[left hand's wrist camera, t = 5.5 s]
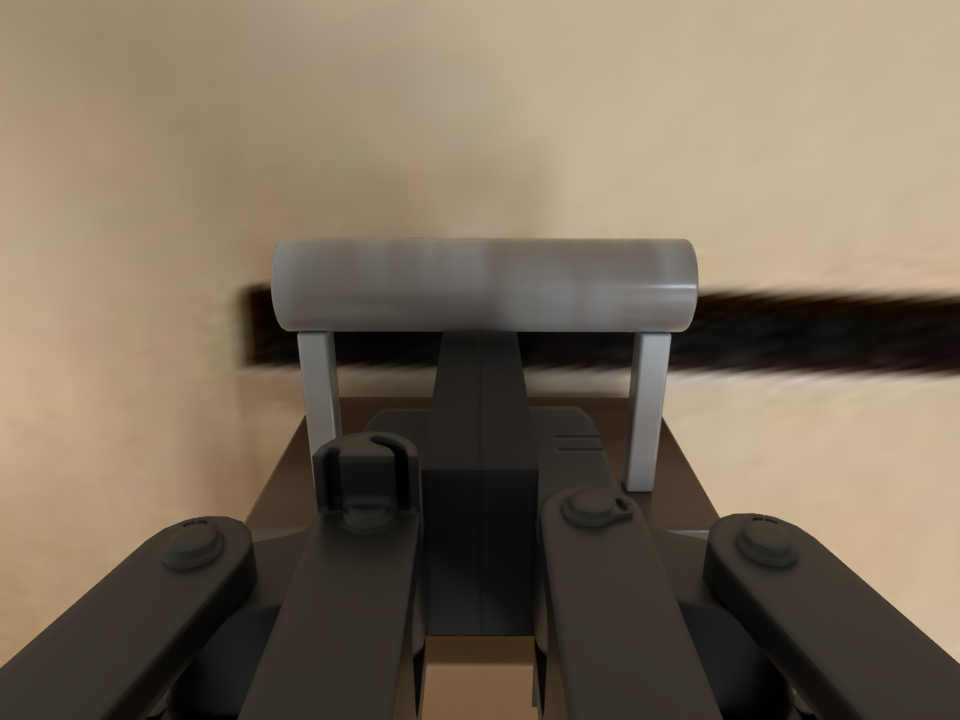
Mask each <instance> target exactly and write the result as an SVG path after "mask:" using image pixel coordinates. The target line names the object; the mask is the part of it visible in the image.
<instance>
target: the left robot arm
mask: <svg viewBox="0 0 960 720" xmlns="http://www.w3.org/2000/svg"><path fill="white" fill-rule="evenodd" d="M312 462H313V471H314V480H315V489H316V498H317V507H318V514H317V516H316V519H315V521H314V524H313V526H312V527H310V528H307V529H305V530H303V531H300V532H297V533H294V534H290V535H286V536H283V537H278V538H273V539H268V540H263V541H258V542H254V543H253V541H252V535H251V531H250V530H249V529H248V527H247V526H246V525H245V524H244V523H243V522H241V521H238V520H235V519H232V518H229V517H218V516H206V517H198V518H193V519H189V520H185V521H182V522H180V523H177V524H175V525H172V526H170V527H167V528H165V529H163V530H162V531H160V532H159V533H157V534H156V535H154V536H153V537H151V538H150V539H148V540H147V541H145V542H144V543H143V544H142V545H141V546H140V547H139V548H137V549H136V550H135V551H134V552H133V553H132V554H131V555H129V556H128V557H127V558H126V559H125V560H124V561H123V562H121V563H120V564H119V565H118V566H117V567H116V568H115V569H113V570H112V571H111V572H110V573H109V574H108V575H107V576H105V577H104V578H103V579H102V580H101V581H100V582H99V583H97V584H96V585H95V586H94V587H93V588H92V589H91V590H89V591H88V592H87V593H86V594H85V595H84V596H83V597H81V598H80V599H79V600H78V601H77V602H76V603H75V604H73V605H72V606H71V607H70V608H69V609H68V610H67V611H65V612H64V613H63V614H62V615H61V616H60V617H59V618H57V619H56V620H55V621H54V622H53V623H52V624H51V625H49V626H48V627H47V628H46V629H45V630H44V631H43V632H42V633H40V634H39V635H38V636H37V637H36V638H35V639H34V640H32V641H31V642H30V643H29V644H28V645H27V646H26V647H24V648H23V649H22V650H21V651H20V652H19V653H18V654H16V655H15V656H14V657H13V658H12V659H11V660H10V661H8V662H7V663H6V664H5V665H4V666H3V667H2V668H0V720H422V711H423V700H424V689H425V678H426V667H427V663H426V638H425V637H426V627H427V634H428V635H532V633H533V625H534V634H535V638H534V663H533V687H532V707H537V710H538V720H960V664H959V663H958V662H957V661H956V660H955V659H953V658H952V657H951V656H950V655H949V654H948V653H946V652H945V651H944V650H943V649H942V648H941V647H940V646H938V645H937V644H936V643H935V642H934V641H933V640H932V639H930V638H929V637H928V636H927V635H926V634H925V633H923V632H922V631H921V630H920V629H919V628H918V627H917V626H915V625H914V624H913V623H912V622H911V621H910V620H908V619H907V618H906V617H905V616H904V615H903V614H902V613H900V612H899V611H898V610H897V609H896V608H895V607H894V606H892V605H891V604H890V603H889V602H888V601H887V600H885V599H884V598H883V597H882V596H881V595H880V594H879V593H877V592H876V591H875V590H874V589H873V588H872V587H870V586H869V585H868V584H867V583H866V582H865V581H864V580H862V579H861V578H860V577H859V576H858V575H857V574H856V573H854V572H853V571H852V570H851V569H850V568H849V567H847V566H846V565H845V564H844V563H843V562H842V561H841V560H839V559H838V558H837V557H836V556H835V555H834V554H833V553H831V552H830V551H829V550H828V549H827V548H826V547H824V546H823V545H822V544H821V543H820V542H819V541H818V540H816V539H815V538H814V537H813V536H811V535H809V534H808V533H806V532H805V531H803V530H802V529H800V528H799V527H797V526H796V525H793V524H791V523H788V522H785V521H783V520H780V519H778V518H776V517H772V516H767V515H766V516H765V515H762V514H754V513H747V514H732V515H729V516H726V517H723V518H720V519H718V520H717V521H716V522H715V523H714V524H713V525H712V526H711V527H710V528H709V534H708V540H705V539H701V538H696V537H691V536H686V535H681V534H676V533H673V532H669V531H665V530H662V529H659V528H657V527H655V526H652V525H650V524H648V523H646V520H645V518H644V515H643V513H642V511H641V509H640V508H639V507H638V505H637V504H636V503H635V501H634V500H633V499H631V498H630V497H628V496H626V495H625V494H623V493H622V492H620V491H619V490H618V487H617V485H616V482H615V479H614V476H613V473H612V471H611V468H610V465H609V462H608V459H607V457H606V454H605V451H603V445H602V443H601V440H600V438H599V434H598V431H597V428H596V426H595V423H594V420H593V419H592V418H591V417H589V416H588V415H587V414H586V413H585V412H583V411H582V410H581V409H580V408H578V407H529V405H528V399H527V393H526V387H525V380H524V374H523V368H522V362H521V355H520V349H519V343H518V337H517V332H506V331H443V336H442V342H441V349H440V355H439V361H438V368H437V374H436V380H435V386H434V393H433V399H432V405H431V409H382V410H381V411H379V412H378V413H377V414H376V415H374V416H373V417H372V418H371V419H370V420H368V421H367V422H366V425H365V428H364V431H363V432H359V433H352V434H348V435H345V436H341V437H338V438H335V439H333V440H331V441H329V442H327V443H326V444H324V445H322V446H320V448H319V449H318V450H317V451H316V452H315V453H314V455H313V456H312Z"/></svg>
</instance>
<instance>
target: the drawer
mask: <svg viewBox="0 0 960 720" xmlns="http://www.w3.org/2000/svg"><path fill="white" fill-rule="evenodd" d="M271 293H272V301H273V306H274V311H275V314H276V317H277V320H278V322H279V324H280V326H281V327H282V328H283V329H284V330H287V331H300V332H299V333H298V335H297V338H298V347H299V356H300V365H301V374H302V383H303V392H304V401H305V410H306V414H305V416H304V418H303V420H302V421H301V423H300V425H299V427H298V428H297V430H296V432H295V434H294V436H293V437H292V439H291V441H290V443H289V444H288V446H287V448H286V450H285V451H284V453H283V455H282V457H281V459H280V460H279V462H278V464H277V466H276V467H275V469H274V471H273V473H272V474H271V476H270V478H269V480H268V482H267V483H266V485H265V487H264V489H263V490H262V492H261V494H260V496H259V498H258V499H257V501H256V503H255V505H254V506H253V508H252V510H251V512H250V513H249V515H248V517H247V519H246V521H245V522H244V524H245V525H246V526H247V527H248V529H249V530H250V531H251V535H252V541H253V543H254V542H258V541H263V540H268V539H273V538H278V537H283V536H286V535H290V534H294V533H297V532H300V531H303V530H305V529H307V528H310V527H312V526H313V524H314V521H315V519H316V516H317V514H318V507H317V498H316V489H315V480H314V471H313V462H312V456H313V455H314V453H315V452H316V451H317V450H318V449H319V448H320V446H322V445H324V444H326V443H327V442H329V441H331V440H333V439H335V438H338V437H341V436H345V435H348V434H352V433H359V432H363V431H364V428H365V425H366V422H367V421H368V420H370V419H371V418H372V417H373V416H374V415H376V414H377V413H378V412H379V411H381V410H382V409H431V405H432V399H433V397H339V391H338V380H337V368H336V357H335V346H334V335H333V331H506V332H635V339H634V349H633V359H632V370H631V380H630V391H629V398H527V399H528V405H529V407H578V408H580V409H581V410H582V411H583V412H585V413H586V414H587V415H588V416H589V417H591V418H592V419H593V420H594V423H595V426H596V428H597V431H598V434H599V438H600V440H601V443H602V445H603V451H605V454H606V457H607V459H608V462H609V465H610V468H611V471H612V473H613V476H614V479H615V482H616V485H617V487H618V490H619V491H620V492H622V493H623V494H625V495H626V496H628V497H630V498H631V499H633V500H634V501H635V503H636V504H637V505H638V507H639V508H640V509H641V511H642V513H643V515H644V518H645V520H646V523H648V524H650V525H652V526H655V527H657V528H659V529H662V530H665V531H669V532H673V533H676V534H681V535H686V536H691V537H696V538H701V539H705V540H708V534H709V528H710V527H711V526H712V525H713V524H714V523H715V522H716V521H717V520H718V519H720V517H719V515H718V514H717V512H716V510H715V508H714V507H713V505H712V503H711V501H710V500H709V498H708V496H707V494H706V493H705V491H704V489H703V487H702V486H701V484H700V482H699V480H698V478H697V477H696V475H695V473H694V471H693V470H692V468H691V466H690V464H689V463H688V461H687V459H686V457H685V456H684V454H683V452H682V450H681V449H680V447H679V445H678V443H677V441H676V440H675V438H674V436H673V434H672V433H671V431H670V429H669V427H668V426H667V424H666V422H665V420H664V419H663V417H662V411H663V402H664V394H665V385H666V377H667V368H668V360H669V352H670V343H671V335H670V333H669V332H682V331H684V330H686V329H687V328H688V327H689V325H690V323H691V321H692V318H693V315H694V312H695V308H696V303H697V296H698V265H697V259H696V254H695V251H694V248H693V246H692V244H691V243H690V242H689V241H688V240H686V239H492V238H284V239H282V240H280V241H279V242H278V244H277V246H276V248H275V251H274V255H273V260H272V267H271ZM426 636H535V634H534V625H533V633H532V635H428V634H427V627H426Z"/></svg>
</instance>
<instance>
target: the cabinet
mask: <svg viewBox="0 0 960 720" xmlns="http://www.w3.org/2000/svg"><path fill="white" fill-rule="evenodd" d="M425 638H426V663H427V667H426V678H425V689H424V700H423V711H422V720H538V710H537V707H532V687H533V663H534V638H535V636H426V637H425Z"/></svg>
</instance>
